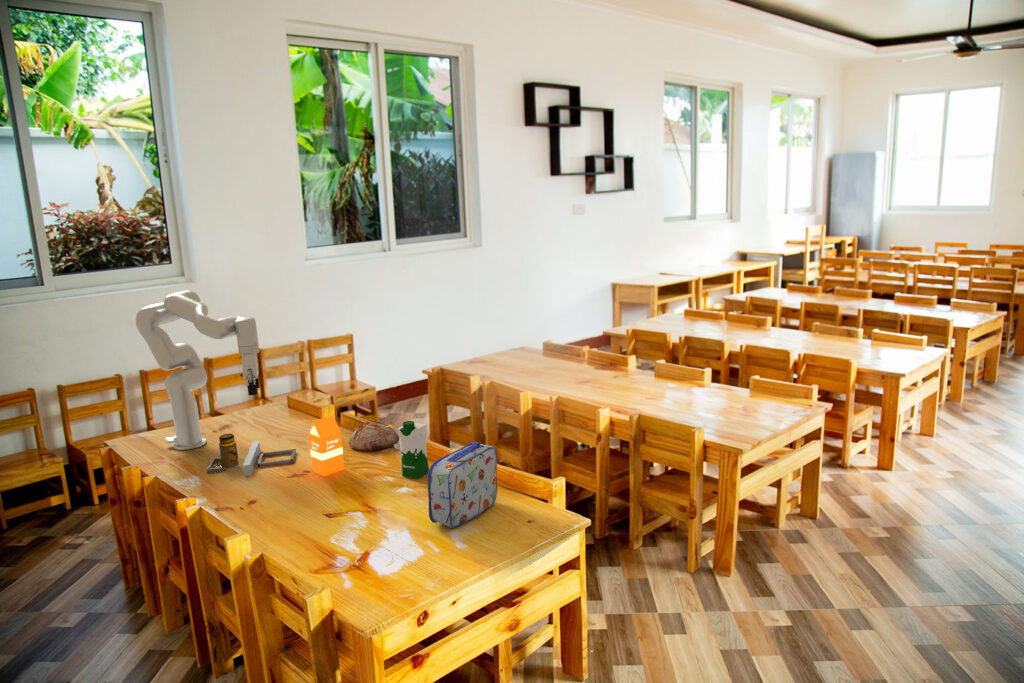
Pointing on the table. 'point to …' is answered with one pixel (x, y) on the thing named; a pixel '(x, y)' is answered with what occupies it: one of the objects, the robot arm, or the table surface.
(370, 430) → the bread
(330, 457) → the orange juice
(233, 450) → the condiment
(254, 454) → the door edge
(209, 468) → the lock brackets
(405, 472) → the milk carton
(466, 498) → the lunch box
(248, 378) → the robot arm
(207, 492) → the table surface
